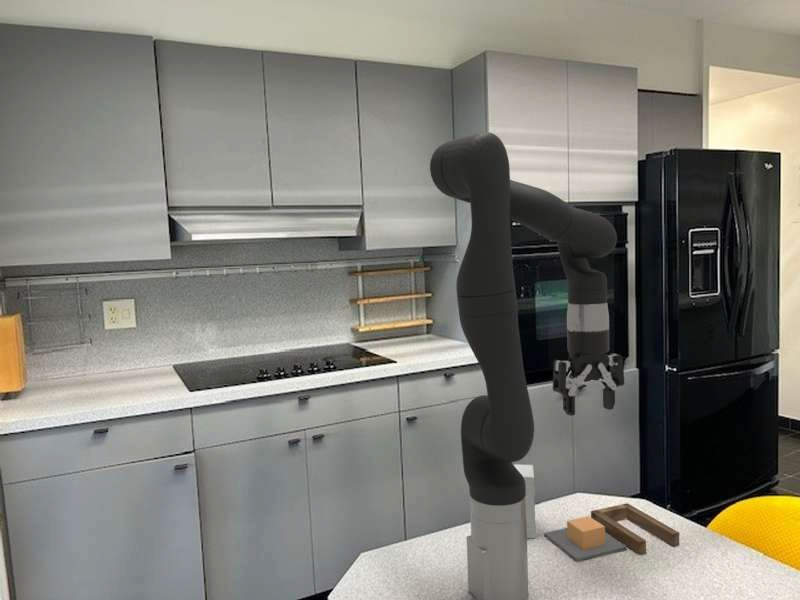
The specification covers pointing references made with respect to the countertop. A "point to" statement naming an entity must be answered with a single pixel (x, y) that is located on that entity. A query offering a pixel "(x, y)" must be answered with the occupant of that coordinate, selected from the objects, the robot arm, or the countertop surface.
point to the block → (586, 532)
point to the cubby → (638, 517)
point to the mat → (578, 553)
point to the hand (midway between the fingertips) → (589, 411)
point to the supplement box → (529, 497)
